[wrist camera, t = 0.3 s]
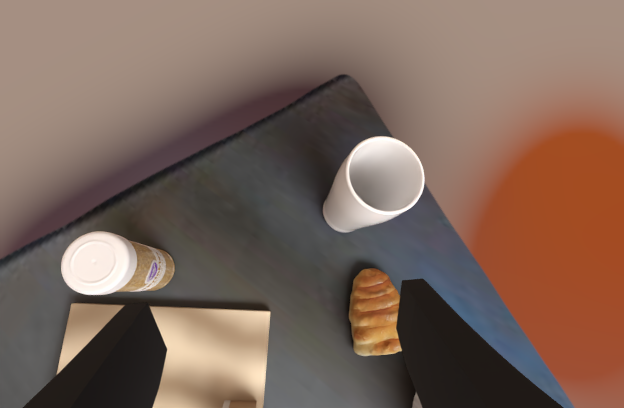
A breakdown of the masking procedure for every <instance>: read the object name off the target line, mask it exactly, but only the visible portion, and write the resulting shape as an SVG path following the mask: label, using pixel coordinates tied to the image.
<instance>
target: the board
mask: <svg viewBox="0 0 624 408" xmlns="http://www.w3.org/2000/svg"><path fill="white" fill-rule="evenodd" d="M124 306H125V305H118V304H94V303H72V304H71V308H70V313H69V318H68V323H67V328H66V332H65V337H64V342H63V347H62V351H61V356H60V361H59V366H58V370H57V374H58V373H59V372H60V371H61V370H62V369H63V368H64V367H65V366H66V365H67V364H68V363H69V362H70V361H71V360H72V359H73V358H74V357H75V356H76V355H77V354H78V353H79V352H80V351H81V350H82V349H83V348H84V347H85V346H86V345H87V344H88V343H89V342H90V341H91V340H92V338H93V337H94V336H95V335H96V334H97V333H98V332H99V331H100V330H101V329H102V328H103V327H104V326H105V325H106V324H107V323H108V322H109V321H110V320H111V319H112V318H113V317H114V316H115V315H116V314H117V313H118V312H119V311H120V310H121V309H122V308H123V307H124ZM149 307H150V309H151V312H152V314H153V316H154V319H155V321H156V323H157V326H158V328H159V331H160V333H161V335H162V338H163V340H164V343H165V345H166V347H167V354H166V359H165V364H164V369H163V373H162V377H161V382H160V386H159V390H158V393H157V396H156V399H155V402H154V405H153V408H222V407H223V404H224V401H225V400H232V401H257V403H256V408H263V402H264V389H265V376H266V363H267V349H268V336H269V323H270V311H261V310H237V309H214V308H190V307H166V306H149Z"/></svg>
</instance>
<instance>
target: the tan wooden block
mask: <svg viewBox="0 0 624 408" xmlns="http://www.w3.org/2000/svg"><path fill="white" fill-rule="evenodd" d="M256 403H257V401H232V400H225V401H224V404H223V407H222V408H256Z"/></svg>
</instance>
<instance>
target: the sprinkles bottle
mask: <svg viewBox="0 0 624 408" xmlns="http://www.w3.org/2000/svg"><path fill="white" fill-rule="evenodd" d="M174 268H175V265H174V262H173V259H172V257H171V256H170V255H169V254H168V253H167V252H165V251H163V250H160V249H155V248H152V247H149V246H146V245H143V244H140V243H137V242H133V241H128V240H127V239H125V238H124V237H122V236H119V235H116V234H113V233H109V232H103V231H97V232H91V233H88V234H85V235H82V236H81V237H79V238H77V239H76V240H75V241H74V242H72V243H71V244H70V246H69V247H68V248H67V250H66V251H65V253H64V255H63V258H62V263H61V272H62V276H63V278H64V280H65V282H66V283H67V285H68V286H69V287H70V288H72V289H73V290H75V291H76V292H79V293H82V294H86V295H105V294H110V293H113V292H119V291H130V292H134V291H145V290H148V291H152V290H157V289H160V288H162V287H164V286H165V285H166V284H168V282H169V281H170V280H171V278H172V277H173V274H174V271H175V270H174Z"/></svg>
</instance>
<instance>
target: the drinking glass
mask: <svg viewBox="0 0 624 408" xmlns="http://www.w3.org/2000/svg"><path fill="white" fill-rule="evenodd" d="M423 187H424V171H423V167H422V164H421V162H420V160H419V158H418V157H417V155H416V154H415V153H414V151H413V150H412V149H411V148H410V147H409V146H407V145H406V144H404V143H403V142H401V141H399V140H397V139H394V138H391V137H385V136H378V137H372V138H369V139H366V140H364V141H362V142H361V143H359V144H358V145H357V146H356V147H355V148H354V149H353V150H352V151H351V152H350V154H349V155H348V156H347V157H346V159H345V160H344V162H343V163H342V165H341V166H340V168H339V170H338V172H337V174H336V176H335V179H334V181H333V184H332V187H331V189H330V192H329V194H328V197H327V198H326V200H325V202H324V205H323V215H324V218H325V220H326V222H327V224H328V225H329V226H330V227H331V228H333V229H334V230H336V231H339V232H352V231H354V230H356V229H359V228H363V227H367V226H371V225H376V224H380V223H383V222H386V221H388V220H390V219H392V218H395V217H396V216H398V215H400V214H402V213H403V212H405V211H406V210H408V209H409V208H411V207H412V206H413V205H414V204H415V203H416V202H417V201H418V199H419V198H420V196H421V194H422V191H423Z"/></svg>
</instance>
